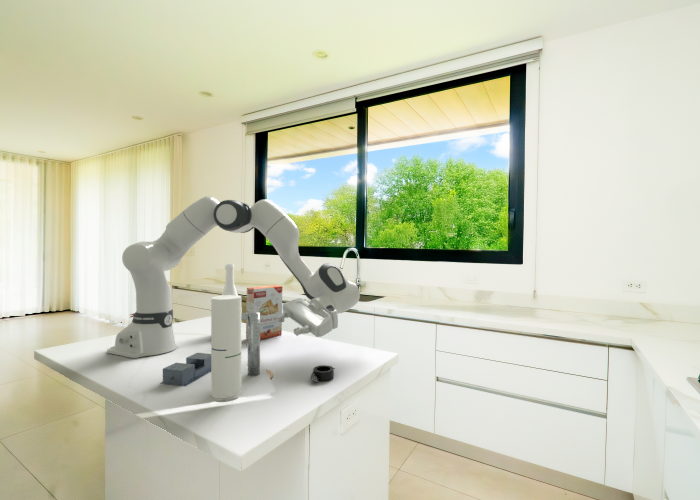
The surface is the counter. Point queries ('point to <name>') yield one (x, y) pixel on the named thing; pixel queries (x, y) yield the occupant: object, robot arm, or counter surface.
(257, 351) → the brushed metal post
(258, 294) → the cracker box
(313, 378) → the black round winged cup
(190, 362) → the vise
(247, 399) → the counter surface
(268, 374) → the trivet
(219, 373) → the cylindrical container
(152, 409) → the counter surface
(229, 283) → the white long rounded piece
